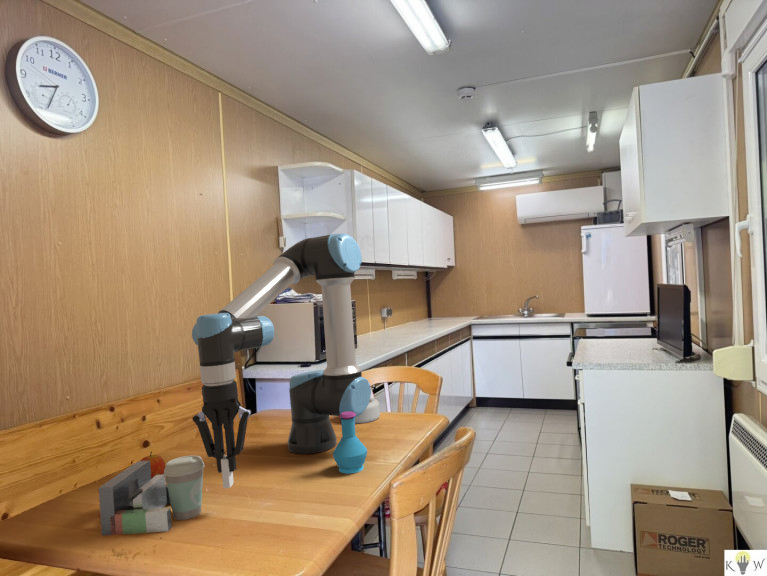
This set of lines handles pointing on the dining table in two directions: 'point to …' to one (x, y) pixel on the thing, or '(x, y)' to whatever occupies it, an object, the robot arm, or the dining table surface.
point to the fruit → (155, 464)
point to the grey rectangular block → (150, 494)
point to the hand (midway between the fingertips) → (228, 485)
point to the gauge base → (118, 508)
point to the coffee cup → (185, 486)
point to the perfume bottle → (349, 447)
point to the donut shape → (369, 412)
